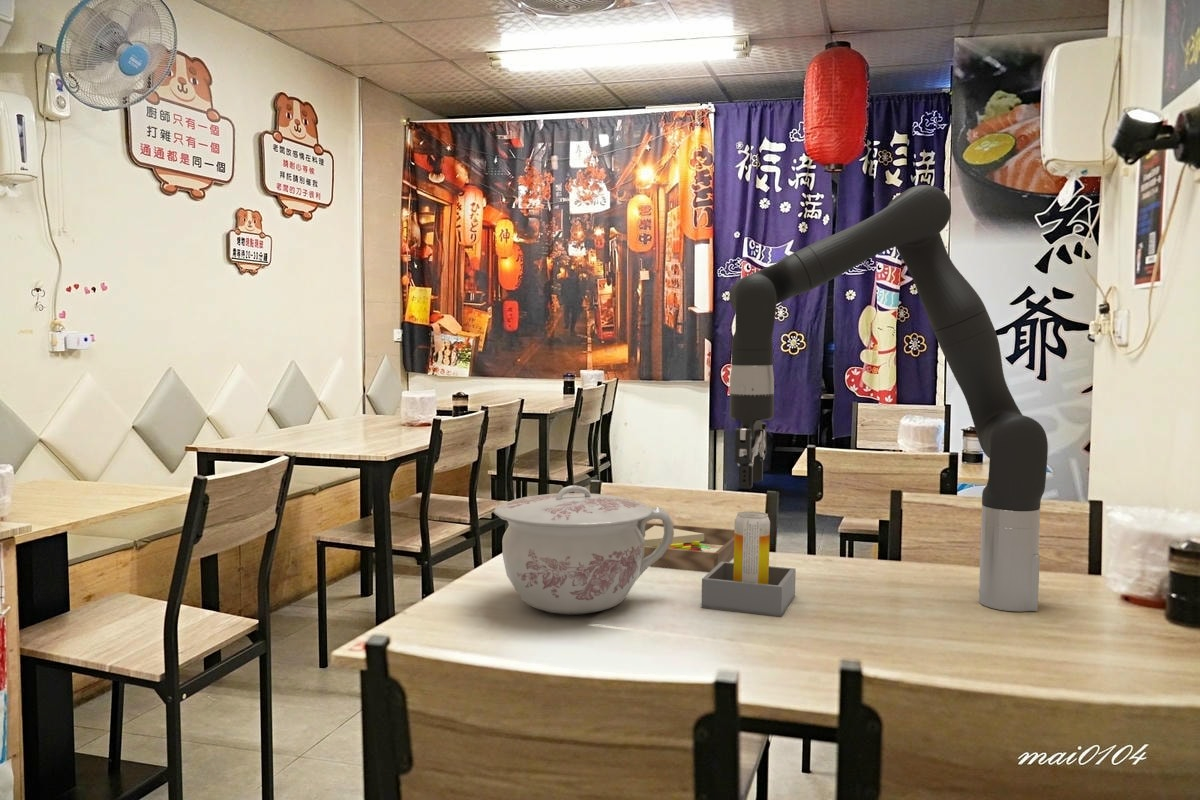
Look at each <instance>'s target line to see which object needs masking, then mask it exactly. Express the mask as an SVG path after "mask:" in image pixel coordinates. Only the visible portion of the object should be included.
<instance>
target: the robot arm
mask: <svg viewBox="0 0 1200 800" xmlns="http://www.w3.org/2000/svg"><path fill="white" fill-rule="evenodd" d="M951 215H952V205H951V201H950V199H949V197H948V195H947V194H946V193H945V192H944V191H943V189H940V188H939V187H936V186H934V185H931V184H930V185H929V184H921V185H915V186H912V187H909V188H908V189H906V190H904V191H903V192H901V193H900V194H898V195H897V196H895V197H893V199H891V200H890V202H889V203H888V205H887V206H886V207H885V208H883V209H882V210H880V211H878V212H877V213H875V214H873V215H871V216H869V217H868V218H865V219H864V220H861V221H860V222H858V223H856V224H854V225H851V226H849V227H846V228H845V229H843V230H841V231H839V232H836V233H834V234H831V235H829V236H826V237H825V238H822V239H820V240H817V241H815V242H813V243H811V244H809V245H807V246H804V247H803V248H801V249H799V250H797V251H794V252H793V253H791V254H789V255H787V256H785V257H784V258H782V259H781V260H778V262H776V263H773V264H771V265H768V266H766V267H763V268H762V269H760V270H757V271H755V272H753V273H750V274H748V275H746V276H743V277H741V278H738V280H736V282H734V284H733V285H732V286H731V288H730V291H729V297H728V298H729V300H728V301H729V303H730V306H731V308H732V309H733V311H735V332H734V334H733V336H732V339H731V365H730V367H731V369H730V376H729V418H731V419H732V420H739V421H740V422H741V424H740V427H736V429H735V430H734V431H735V450H734V451H735V453H734V456H735V458H734V462H735V464H737V466H738V486H739V487H738V488H740V489H746V490H748V489H749V490H750V489H751V488H753V485H754V484H753V483H754V482H756V483H758V482H759V483H760V482H762V481H763V477H764V460H765V458H766V455H767V453H768V450H767V427H768V426H767V422H764V421H770V420H772V419H773V418H774V415H775V413H774V408H775V405H774V404H775V398H774V397H775V378H774V377H775V376H774V370H773V369H774V368H773V362H774V361H773V360H774V359H773V358H774V357H773V356H774V355H773V354H774V352H773V350H774V349H773V348H774V347H773V333H774V328H775V321H776V314H777V305H779V304H780V303H782V302H784V301H786V300H788V299H790V298H792V297H797V296H799V295H803V294H805V293H808V292H810V291H812V290H814V289H815V288H817V287H820V286H822V285H825V283H828V282H830V281H832V280H833V279H836V278H837V277H840V276H841V275H843V274H844V273H846V272H848V271H850V270H852V269H853V268H855V267H857V266H859V265H860V264H862V263H864V262H866V261H867V260H869V259H870V260H871V258H872V259H873V258H874V257H875V256H878V255H879V254H881V253H884V252H886V251H888V250H890V249H893V248H895V249H896V250H897V252H898V254H899V255H900V257H901V260H902V261H903V263H904V264H905V266H906V268H907V271H908V272H909V274H910V276H911V278H912V280H913V283H914V286H915V289H916V292H917V294H918V295H919V299H920V302H921V303H922V306H923V309H924V310H925V313H926V315H927V318H928V320H929V323H930V326H931V328H932V331H933V333H934V335H935V339H936V340H937V342H938V345H939V347H940V350H941V351H942V355H943V356H944V358H945V360H946V362H947V363H948V366H949V369H950V370H951V372H952V375H953V377H954V378H955V380H956V382H957V384H958V387H959V388H960V390H961V391H962V394H963V395H964V398H965V401H966V404H967V407H968V409H969V413H970V417H971V419H972V422H973V423H972V424H973V425H974V429H975V431H976V432H975V434H976V436H977V439H978V443H979V446H980V448H981V450H982V452H983V453H984V454H985V456H986V458H989V460H988V461H989V464H988V477H987V483H986V486H985V487H984V488H983V489H982V493H981V523H980V525H981V526H980V551H979V552H980V553H979V583H978V584H979V585H978V602H979V604H980V605H983V606H985V607H987V608H990V609H994V610H999V611H1006V612H1007V611H1008V612H1038V611H1039V593H1040V592H1039V591H1040V590H1039V589H1040V588H1039V587H1040V586H1039V585H1040V584H1039V583H1040V562H1041V561H1040V560H1041V559H1040V558H1041V556H1040V553H1039V551H1040V527H1041V525H1040V524H1041V523H1040V522H1041V501H1042V497H1043V496H1044V492H1045V489H1046V484H1047V483H1046V480H1047V472H1048V471H1047V469H1048V468H1047V467H1048V454H1049V451H1048V449H1049V447H1048V437H1047V433H1046V431H1045V428H1044V427H1043V426H1042V425H1041V423H1040V422H1039V421H1037V420H1035V418H1033V417H1029V416H1028V415H1027V416H1026V415H1023V413H1022V411H1021V410H1020V409H1019V406H1018V405H1017V403H1016V401H1015V400H1014V397H1013V395H1012V394H1011V392H1010V389H1009V387H1008V384H1007V381H1006V378H1005V374H1004V369H1003V362H1002V361H1003V360H1002V354H1001V353H1002V352H1001V348H1000V343H999V338H998V335H997V332H996V329H995V326H994V325H993V322H992V320H991V318H990V314H989V312H988V310H987V308H986V306H985V303H984V302H983V300H982V299H981V297H980V295H979V294H978V292H977V291H976V290H975V289H974V287H973V286H972V285H971V284H970V283H969V281H968V279H966V278H965V277H964V276H963V274H961V272H960V271H959V270H958V269H957V267H956V266H955V264H954V263H953V261H952V259H951V258H950V256H949V253H948V252H947V249H946V246H945V243H944V241H943V239H942V235H941V232H942V231H943V230H944V229H945V228H946V227H947V225H948V223H949V221H950V219H951Z"/></svg>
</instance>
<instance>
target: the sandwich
mask: <svg viewBox="0 0 1200 800" xmlns="http://www.w3.org/2000/svg"><path fill="white" fill-rule="evenodd" d="M645 535H646V536H645V537H644V539H645V545H644V546H650V547H658V545H659V544H660V543H661V542H662V539H663V535H664V527H661V526H653V527H652V528H650V529H648V530H647V531H645ZM700 541H704V534H703V533H697V532H691V531H685V530H679V529H674V536H673V540H672V543H671V545H670V546H669V548H672V549H682V550H693V551H703V549H708V550H709V549H711V548H710V547H709V546H708V545H706V544H702V543H700ZM702 548H703V549H702Z"/></svg>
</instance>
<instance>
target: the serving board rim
mask: <svg viewBox="0 0 1200 800" xmlns="http://www.w3.org/2000/svg"><path fill="white" fill-rule="evenodd" d="M653 526H661V527H664V525H663V523H655V522H647V523H646V525H645V531H647V530H648V529H650V528H652V527H653ZM673 529H679V530H685V531H691V532H697V533H703V534H704V541H700V543H701V544H703V545H714V546H715V545H717V546H721V547H720V548H719V549H717V550H716V551H715V552H714V551H704V550H702V551H693V550H682V549H672V548H668V549H667V550H666V552H665V553H664V554H663V556H662V557H661V558H659V559H658V560H657V561H655V562H654V563H653V564H651V565H650V566H651V567H650V568H658V569H659V568H660V569H672V570H681V571H682V570H683V571H691V572H692V571H693V572H701V573H709V572H710V571H711V570H712V569H714V568H715V567H716V566H717V565H718V564H719V563H720V562H732V560H734V529H729V528H717V527H706V526H705V527H704V526H695V525H694V526H693V525H692V526H691V525H681V524H673ZM656 548H657V547H650V546H644V558H646V557H647V556H649V555H650V554H652V553H653V552H654V550H655V549H656ZM644 558H643V559H644Z"/></svg>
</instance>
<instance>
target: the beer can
mask: <svg viewBox="0 0 1200 800" xmlns="http://www.w3.org/2000/svg"><path fill="white" fill-rule="evenodd" d="M733 530H734V558H733V563H734V568H733V581H739V582H749V583H759V584H768V579H769V566H770V544H771V543H770V542H771V541H770V540H771V538H770V537H771V535H770V533H771V521H770V519H769V514H768V513H766V512H761V511H754V510H749V511H748V510H747V511H738V512H737V513H736V516H735V518H734V529H733Z"/></svg>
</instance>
